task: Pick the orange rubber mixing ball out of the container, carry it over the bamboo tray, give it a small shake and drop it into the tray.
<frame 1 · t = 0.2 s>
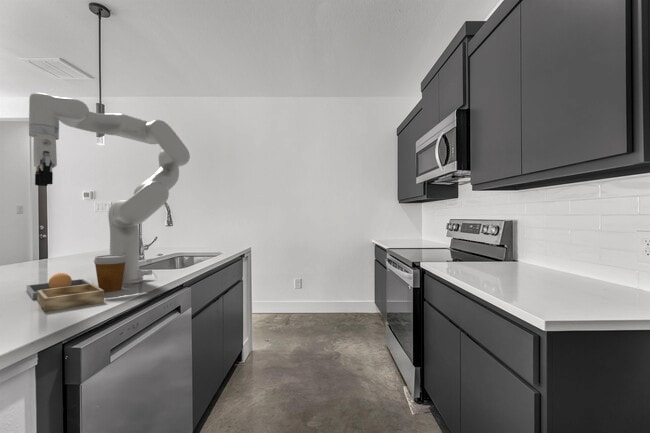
hand: (43, 184, 108), 36 cm above the counter, tool pointing down, fingers open, 9 cm apart
ball: (60, 291, 108), point 1 cm above the counter, touching container
tray: (70, 302, 97), on the counter
container: (60, 292, 108), on the counter
disposable coffee cup: (110, 292, 111), on the counter
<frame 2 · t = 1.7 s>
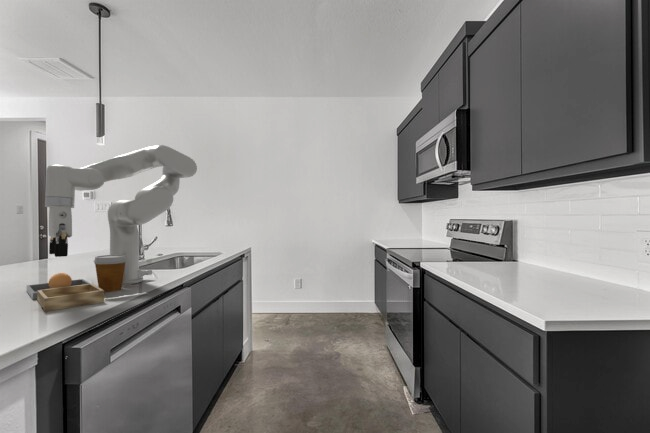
hand: (58, 255, 108), 13 cm above the counter, tool pointing down, fingers open, 9 cm apart
nothing on the counter moved.
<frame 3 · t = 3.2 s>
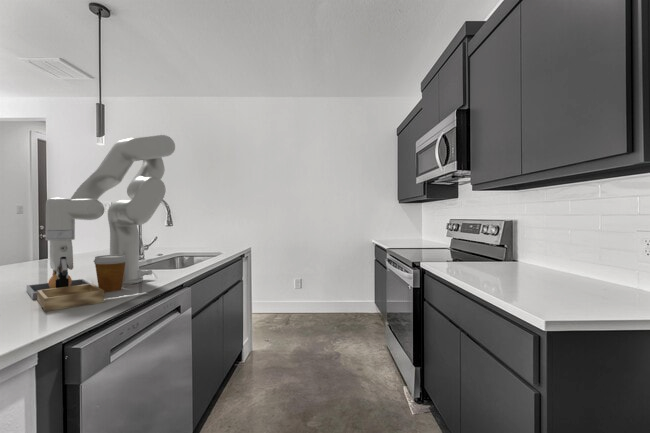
hand: (60, 289, 108), 1 cm above the counter, tool pointing down, fingers closed on ball, 6 cm apart
ball: (60, 291, 108), point 1 cm above the counter, touching container, gripper
everything else where it was.
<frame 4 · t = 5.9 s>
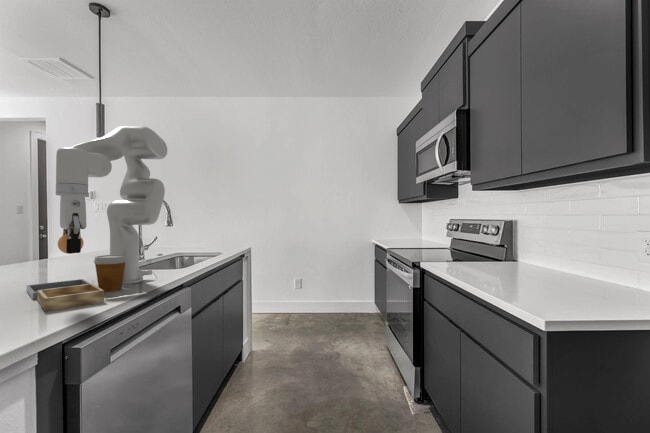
hand: (71, 251, 96), 15 cm above the counter, tool pointing down, fingers closed on ball, 6 cm apart
ball: (70, 253, 96), point 15 cm above the counter, touching gripper
everything else where it was.
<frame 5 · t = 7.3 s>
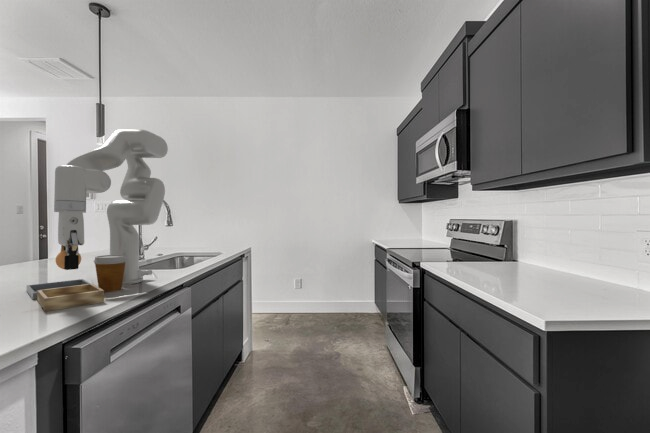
hand: (69, 267, 97), 10 cm above the counter, tool pointing down, fingers closed on ball, 6 cm apart
ball: (68, 269, 97), point 10 cm above the counter, touching gripper
everything else where it was.
when the fingers open (4 cm above the counter, at t = 8.5 s): ball drops 2 cm, resting on tray.
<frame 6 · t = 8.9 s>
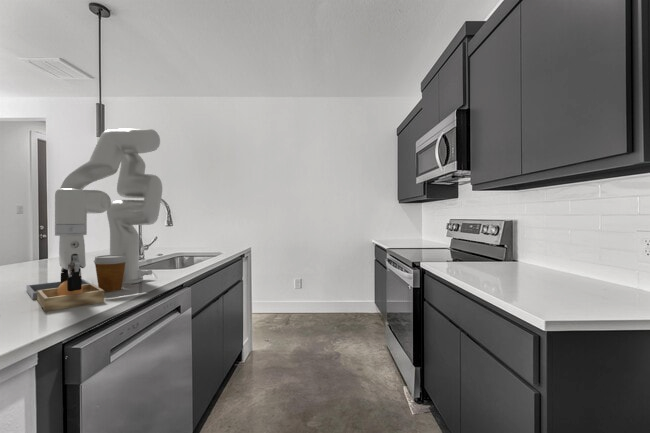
hand: (70, 287, 97), 4 cm above the counter, tool pointing down, fingers open, 9 cm apart
ball: (70, 300, 97), point 1 cm above the counter, touching tray
everything else where it was.
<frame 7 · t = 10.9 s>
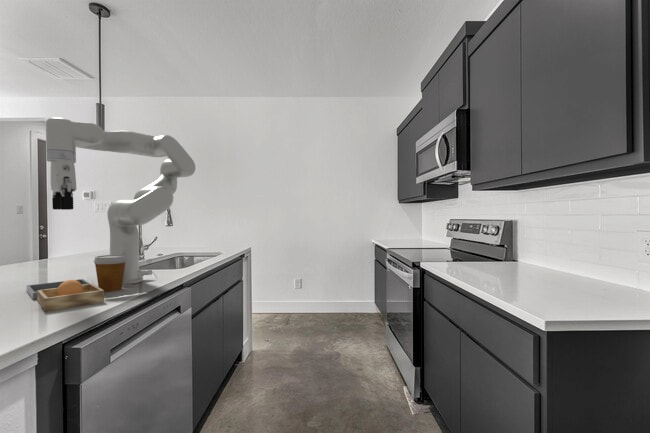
hand: (62, 209, 108), 28 cm above the counter, tool pointing down, fingers open, 9 cm apart
nothing on the counter moved.
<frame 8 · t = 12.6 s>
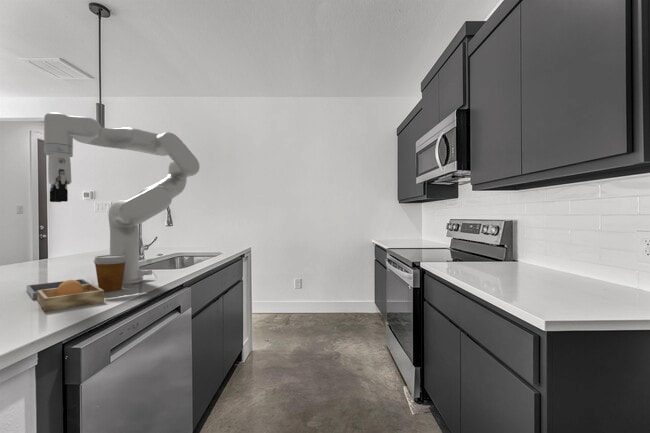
hand: (58, 201, 111), 30 cm above the counter, tool pointing down, fingers open, 9 cm apart
nothing on the counter moved.
at the end: ball inside the target area on the tray (0.1 cm from its centre), point 0.6 cm above the tray's base; ball point 0.6 cm above the counter; the gripper is holding nothing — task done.
